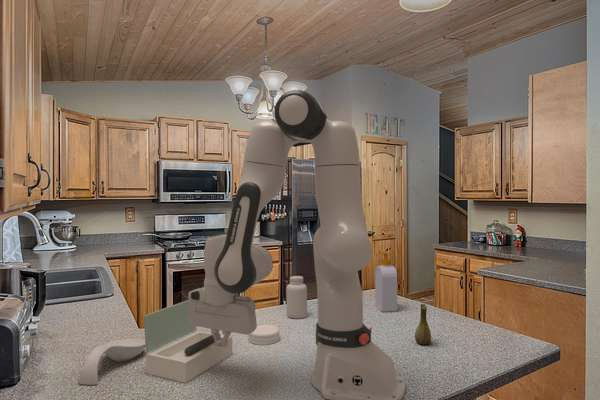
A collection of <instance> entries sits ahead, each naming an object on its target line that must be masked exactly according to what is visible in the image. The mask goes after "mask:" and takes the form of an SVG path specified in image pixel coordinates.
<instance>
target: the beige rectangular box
mask: <svg viewBox="0 0 600 400" xmlns="http://www.w3.org/2000/svg"><path fill="white" fill-rule="evenodd" d="M211 335H212V333H211V332H209V331H206V332H205V331H201V330H196V331H194V332H191V333H189V334H187V335H185V336H183V337H181V338H179V339H176V340H174V341H172V342H170V343H168V344H166V345H163V346H161V347H159V348H157V349H155V350H153V351H151V352H147V353H146V354H145V370H146V371H145V372H146V373H145V374H146V375H151V376H155V377H159V378H163V379H167V380H172V381H175V382H179V383H183V384H187V383H189V382H190V381H191V380H193V379H194V378H196V377H198V376H199V375H200V374H202V373H204V372H205V371H207V370H209V369H211V368H212V367H213V366H215V365H217V364H218V363H220V362H222V361H223V360H225V359H227V358H228V357H230V356H231V355H232V354H233V336H231V335H230V336H229V338H228V345H227V346H226V347H221V346H215V342H213V343H211V344H209V345H207V346H206V347H204V348H202V349H200V350H198V351H196V352H195V353H193V354H191V355H186V354H185V352H184V351H185V349H186V348H187V347H189V346H191V345H193V344H195V343H197V342H199V341H201V340H203V339H205V338H207V337H209V336H211ZM220 336H221V338H223V337H224V335H223V334H220Z"/></svg>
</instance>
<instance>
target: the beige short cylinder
mask: <svg viewBox="0 0 600 400" xmlns="http://www.w3.org/2000/svg"><path fill="white" fill-rule="evenodd" d="M280 335H281V334H280V328H279V327H278V326H275V325H271V324H259V325H257V328H256V330H255V331H254V332H252V333H251V334H249V335H247V336H248V342H249V343H251V344H254V345H257V346H258V345H260V346H265V345H272V344H273V345H274V344H275V343H277V342H279V340H280Z"/></svg>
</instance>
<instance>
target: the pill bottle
mask: <svg viewBox="0 0 600 400" xmlns="http://www.w3.org/2000/svg"><path fill="white" fill-rule="evenodd" d="M285 290H286V291H285V293H286V297H285V298H286V317H287V318H289V319H294V320H296V319H302V318H303V319H304V318H306V317H308V287H307V285H306V284H305V283H304V277H303V276H302V275H292V276H290V277H289V284H287V285H286V287H285Z"/></svg>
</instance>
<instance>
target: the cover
mask: <svg viewBox="0 0 600 400" xmlns="http://www.w3.org/2000/svg"><path fill="white" fill-rule="evenodd" d="M189 301H190V299H187V300H185V301H182V302H179V303H176V304H173V305H171V306H167V307H164V308H162V309H161V308H160V309H158V310H155V311H153V312H150V313H148V314H145V315H143V325H144V329H143V330H144V340H145V343H146V347H145V352H146V353H150V352H152V351H154V350H156V349H158V348H161V347H163V346H165V345H167V344H169V343H171V342H173V341H176V340H178V339H180V338H182V337H184V336H186V335H188V334H191V333H193V332H195V331H197V326H192V325H189V323H188V321H187V306H188V302H189Z"/></svg>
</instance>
